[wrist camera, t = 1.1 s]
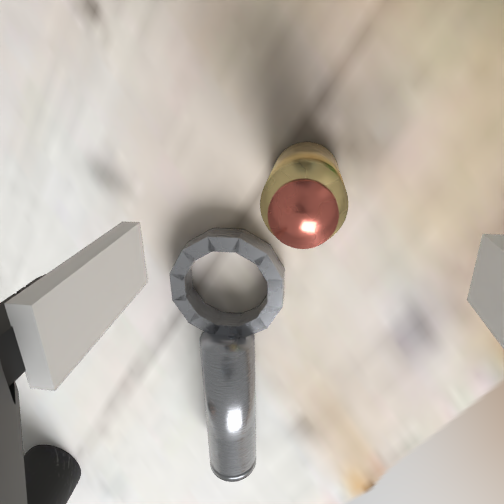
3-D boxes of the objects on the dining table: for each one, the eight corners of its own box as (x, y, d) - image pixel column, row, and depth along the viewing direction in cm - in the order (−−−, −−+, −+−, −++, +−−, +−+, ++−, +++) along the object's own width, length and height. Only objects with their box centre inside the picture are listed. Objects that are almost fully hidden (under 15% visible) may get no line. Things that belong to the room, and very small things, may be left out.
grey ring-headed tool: (173, 226, 31) (152, 247, 27) (285, 230, 30) (281, 253, 26) (195, 435, 41) (181, 475, 37) (280, 445, 40) (277, 487, 35)
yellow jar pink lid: (273, 141, 28) (255, 168, 19) (341, 142, 27) (355, 169, 18) (273, 205, 29) (256, 257, 21) (336, 207, 29) (347, 261, 20)
